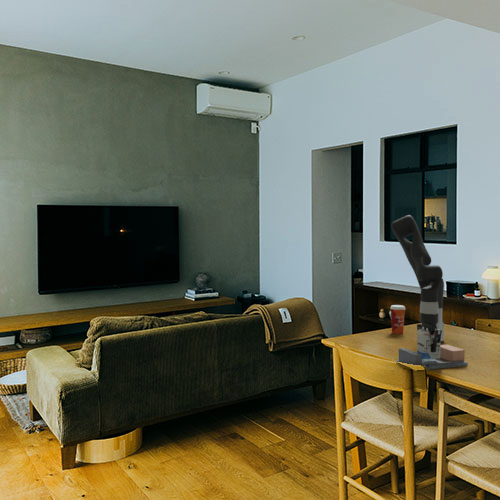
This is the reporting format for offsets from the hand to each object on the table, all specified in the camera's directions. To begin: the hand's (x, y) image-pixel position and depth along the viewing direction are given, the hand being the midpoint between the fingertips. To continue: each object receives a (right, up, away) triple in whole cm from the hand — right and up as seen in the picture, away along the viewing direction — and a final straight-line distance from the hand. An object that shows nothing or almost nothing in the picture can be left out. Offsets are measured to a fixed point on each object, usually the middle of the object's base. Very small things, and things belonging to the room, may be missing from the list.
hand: (428, 350), depth 222 cm
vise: (+1, -6, +1) cm, 6 cm away
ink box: (0, -3, 0) cm, 3 cm away
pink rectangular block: (+10, -4, +4) cm, 12 cm away
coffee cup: (+5, -3, +64) cm, 64 cm away
